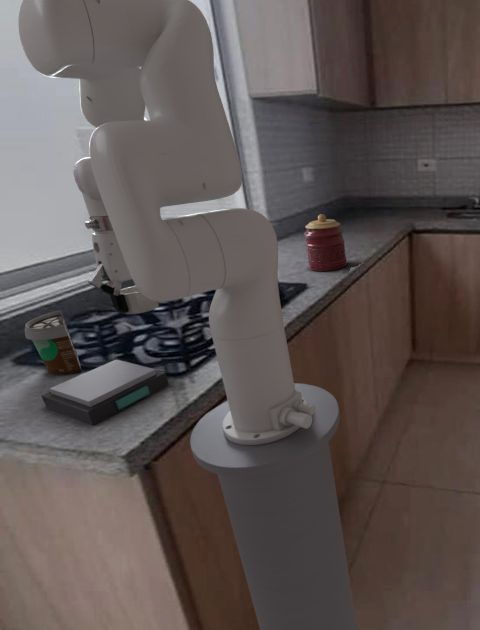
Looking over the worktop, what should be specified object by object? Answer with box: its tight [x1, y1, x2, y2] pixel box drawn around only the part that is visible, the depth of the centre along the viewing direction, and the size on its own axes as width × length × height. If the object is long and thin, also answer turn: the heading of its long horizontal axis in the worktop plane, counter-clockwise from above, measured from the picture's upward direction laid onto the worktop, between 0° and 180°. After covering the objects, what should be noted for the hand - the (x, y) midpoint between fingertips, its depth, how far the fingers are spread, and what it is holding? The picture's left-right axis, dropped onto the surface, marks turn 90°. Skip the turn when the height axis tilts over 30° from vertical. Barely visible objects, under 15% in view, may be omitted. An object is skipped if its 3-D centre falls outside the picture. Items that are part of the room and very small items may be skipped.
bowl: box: [120, 285, 160, 315], centre depth 95 cm, size 7×7×4 cm
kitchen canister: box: [303, 213, 348, 272], centre depth 147 cm, size 13×13×18 cm
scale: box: [41, 359, 170, 426], centre depth 75 cm, size 14×13×4 cm
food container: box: [24, 310, 82, 376], centre depth 85 cm, size 12×6×10 cm, turn 40°
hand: (140, 305), depth 95 cm, fingers closed on bowl, 6 cm apart
